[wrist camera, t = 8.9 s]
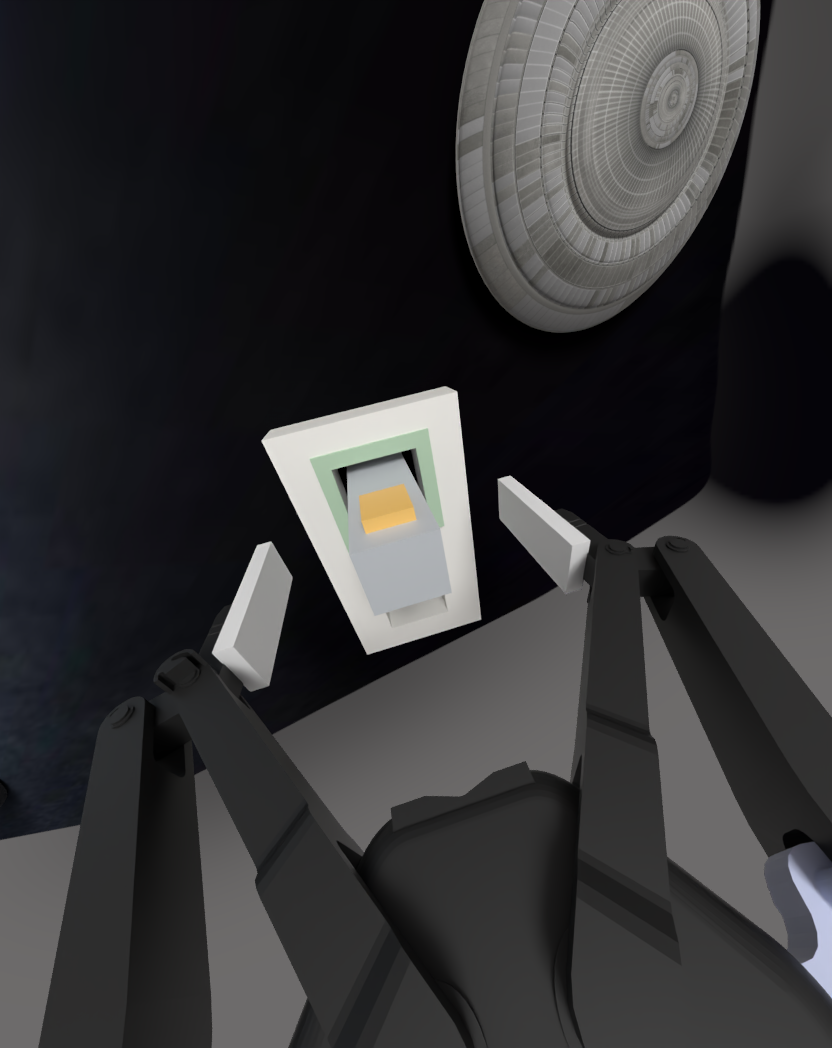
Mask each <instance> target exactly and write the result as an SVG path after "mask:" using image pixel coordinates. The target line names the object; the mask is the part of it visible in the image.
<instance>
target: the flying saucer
mask: <svg viewBox="0 0 832 1048" xmlns="http://www.w3.org/2000/svg"><path fill="white" fill-rule="evenodd" d="M759 25H760V0H484V2H483V5H482V8H481V11H480V14H479V17H478V20H477V23H476V26H475V30H474V33H473V36H472V40H471V44H470V48H469V52H468V56H467V60H466V65H465V70H464V74H463V80H462V86H461V92H460V99H459V107H458V116H457V128H456V179H457V191H458V199H459V207H460V213H461V218H462V223H463V227H464V232H465V236H466V239H467V243H468V246H469V249H470V252H471V255H472V257H473V260H474V262H475V265H476V267H477V269H478V271H479V273H480V275H481V277H482V279H483V281H484V283H485V284H486V286H487V287H488V289H489V291H490V292H491V293H492V295H493V296H494V297H495V299H496V300H497V301H498V302H499V303H500V305H501V306H502V307H503V308H504V309H505V310H506V311H508V312H509V313H510V314H511V315H512V316H514V317H515V318H516V319H518V320H519V321H521V322H523V323H525V324H527V325H529V326H531V327H533V328H536V329H539V330H543V331H548V332H556V333H565V332H574V331H579V330H583V329H587V328H590V327H593V326H595V325H597V324H600V323H602V322H604V321H606V320H608V319H610V318H611V317H613V316H615V315H616V314H618V313H619V312H621V311H622V310H623V309H625V308H626V307H628V306H629V305H630V304H631V303H632V302H634V301H635V300H636V299H637V298H638V297H639V296H640V295H642V294H643V293H644V292H645V291H646V290H647V289H648V288H649V287H650V286H651V285H652V284H653V283H654V282H655V281H656V280H657V279H658V278H659V276H660V275H661V274H662V273H663V272H664V271H665V270H666V268H667V267H668V266H669V265H670V263H671V262H672V261H673V260H674V258H675V257H676V256H677V254H678V253H679V252H680V250H681V249H682V247H683V246H684V245H685V243H686V242H687V240H688V239H689V237H690V236H691V234H692V233H693V231H694V229H695V228H696V226H697V225H698V223H699V221H700V220H701V218H702V216H703V214H704V213H705V211H706V209H707V207H708V205H709V203H710V201H711V199H712V198H713V196H714V194H715V191H716V189H717V187H718V185H719V183H720V181H721V178H722V176H723V174H724V172H725V169H726V167H727V164H728V162H729V159H730V157H731V154H732V151H733V149H734V146H735V143H736V140H737V137H738V134H739V131H740V128H741V125H742V122H743V118H744V115H745V111H746V107H747V103H748V99H749V95H750V90H751V86H752V81H753V76H754V70H755V64H756V57H757V49H758V39H759Z"/></svg>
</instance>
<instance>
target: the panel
mask: <svg viewBox="0 0 832 1048" xmlns="http://www.w3.org/2000/svg"><path fill="white" fill-rule="evenodd" d="M262 443H263V445H264V447H265V449H266V451H267V453H268V455H269V457H270V459H271V461H272V463H273V465H274V467H275V469H276V471H277V473H278V475H279V477H280V479H281V481H282V483H283V485H284V487H285V489H286V491H287V493H288V495H289V497H290V499H291V501H292V503H293V505H294V507H295V510H296V512H297V514H298V516H299V518H300V520H301V522H302V524H303V526H304V528H305V530H306V532H307V534H308V536H309V538H310V540H311V542H312V544H313V546H314V548H315V550H316V552H317V554H318V556H319V558H320V560H321V562H322V564H323V566H324V568H325V570H326V572H327V574H328V576H329V578H330V580H331V582H332V584H333V586H334V588H335V590H336V592H337V594H338V596H339V598H340V600H341V602H342V604H343V606H344V608H345V611H346V613H347V615H348V617H349V619H350V621H351V623H352V625H353V627H354V629H355V631H356V633H357V635H358V637H359V639H360V641H361V643H362V645H363V647H364V649H365V651H366V653H367V655H368V654H371V653H374V652H378V651H381V650H384V649H387V648H390V647H394V646H397V645H400V644H403V643H407V642H410V641H413V640H416V639H420V638H423V637H426V636H429V635H433V634H436V633H439V632H442V631H446V630H449V629H452V628H455V627H458V626H462V625H465V624H468V623H471V622H475V621H478V620H481V613H480V603H479V594H478V584H477V575H476V565H475V556H474V546H473V537H472V528H471V518H470V509H469V499H468V490H467V480H466V471H465V461H464V452H463V443H462V433H461V424H460V414H459V405H458V395H457V391H455V390H453V389H450V388H448V387H446V386H445V387H441V388H437V389H433V390H429V391H425V392H421V393H417V394H413V395H408V396H404V397H400V398H396V399H392V400H388V401H384V402H380V403H376V404H372V405H368V406H364V407H360V408H356V409H352V410H348V411H344V412H340V413H336V414H332V415H328V416H324V417H320V418H316V419H312V420H308V421H304V422H300V423H296V424H292V425H288V426H284V427H280V428H276V429H272V430H270V431H269V432H268V433H267V435H266V436H265V437H264V438H263V440H262ZM410 449H411V452H412V457H413V462H414V467H415V471H416V476H417V481H418V486H419V489H420V490H421V492H422V494H423V496H424V498H425V500H426V502H427V504H428V506H429V508H430V510H431V512H432V514H433V516H434V518H435V520H436V522H437V523H438V525H439V527H440V530H441V536H442V541H443V547H444V552H445V558H446V563H447V569H448V575H449V580H450V586H451V591H452V593H449V594H446V595H443V596H440V597H436V598H433V599H430V600H426V601H423V602H420V603H416V604H413V605H410V606H406V607H403V608H400V609H396V610H393V611H390V612H386V613H383V614H380V615H376V616H374V613H373V611H372V609H371V606H370V604H369V601H368V599H367V597H366V594H365V592H364V589H363V587H362V585H361V582H360V580H359V577H358V575H357V573H356V570H355V568H354V565H353V563H352V561H351V558H350V556H349V532H348V497H347V494H346V491H345V489H344V486H343V483H342V481H341V478H340V475H339V472H338V470H337V469H338V468H341V467H345V466H349V465H353V464H357V463H360V462H364V461H368V460H372V459H376V458H379V457H383V456H387V455H391V454H395V453H398V452H402V451H406V450H410Z"/></svg>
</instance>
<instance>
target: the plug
mask: <svg viewBox="0 0 832 1048" xmlns="http://www.w3.org/2000/svg"><path fill="white" fill-rule="evenodd" d="M347 492H348V532H349V556H350V558H351V561H352V563H353V565H354V568H355V570H356V573H357V575H358V577H359V580H360V582H361V585H362V587H363V589H364V592H365V594H366V597H367V599H368V601H369V604H370V606H371V609H372V611H373V613H374V616H376V615H380V614H383V613H386V612H390V611H393V610H396V609H400V608H403V607H406V606H410V605H413V604H416V603H420V602H423V601H426V600H430V599H433V598H436V597H440V596H443V595H446V594H449V593H452V591H451V586H450V580H449V575H448V569H447V563H446V558H445V552H444V547H443V541H442V536H441V530H440V527H439V525H438V523H437V522H436V520H435V518H434V516H433V514H432V512H431V510H430V508H429V506H428V504H427V502H426V500H425V498H424V496H423V494H422V492H421V490H420V489H419V487H418V485H417V483H416V481H415V479H414V477H413V475H412V473H411V471H410V469H409V467H408V465H407V463H406V461H405V459H404V458H403V456H402V454H401V452H398V453H395V454H391V455H387V456H383V457H379V458H376V459H372V460H368V461H364V462H360V463H357V464H353V465H349V466H347Z"/></svg>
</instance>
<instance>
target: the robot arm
mask: <svg viewBox="0 0 832 1048" xmlns="http://www.w3.org/2000/svg"><path fill="white" fill-rule="evenodd" d="M498 494H499V519H500V520H501V521H502V522H503V523H504V524H505V525H506V527H507V528H508V529H509V530H510V531H511V532H512V533H513V534H514V536H515V537H516V538H517V539H518V540H519V541H520V542H521V544H522V545H523V546H524V547H525V548H526V549H527V550H528V552H529V553H530V554H531V555H532V556H533V557H534V558H535V560H536V561H537V562H538V563H539V564H540V565H541V566H542V568H543V569H544V570H545V571H546V572H547V573H548V574H549V576H550V577H551V578H552V579H553V580H554V581H555V582H556V584H557V585H558V586H559V587H560V588H561V589H562V590H563V591H564V593H565V594H568V593H571V592H574V591H577V590H581V589H582V586H583V580H585V581H586V582H587V583H588V584H589V585H590V589H589V594H588V599H587V603H588V608H587V609H588V610H587V620H586V630H585V641H584V652H583V663H582V675H581V685H580V697H579V707H578V718H577V729H576V740H575V750H574V756H573V763H572V770H571V780H570V782H568V781H566V780H565V779H562V778H560V777H558V776H556V775H554V774H550V773H547V772H543V771H538V770H529V768H528V765H527V763H526V761H525V762H522V763H519V764H516V765H514V766H511V767H507V768H505V769H502V770H499V771H496V772H493V773H492V774H491V775H490V776H488V777H487V778H486V779H485V780H483V781H482V782H481V783H479V784H478V785H477V786H476V787H474V788H473V789H472V790H470V791H469V792H468V793H467V794H466V795H463V796H460V797H449V796H445V797H444V796H424V797H421V798H418V799H415V800H412V801H410V802H407V803H404V804H401V805H398V806H395V807H392V808H391V815H392V819H391V820H389V821H388V822H387V823H386V824H385V825H384V826H383V827H382V828H381V829H380V830H379V831H378V833H377V834H376V835H375V836H374V838H373V839H372V841H371V842H370V844H369V845H368V847H367V849H366V850H365V852H363V851H362V850H361V848H360V847H359V846H358V845H357V844H356V842H355V841H354V840H353V839H352V838H351V837H350V836H349V835H348V834H347V833H346V832H345V831H344V829H343V828H342V827H341V825H340V824H339V823H338V822H337V820H336V819H335V818H334V816H333V815H332V814H331V812H330V811H329V810H328V808H327V807H326V806H325V804H324V803H323V802H322V800H321V799H320V798H319V796H318V795H317V794H316V792H315V791H314V790H313V788H312V787H311V786H310V785H309V783H308V782H307V780H306V779H305V778H304V777H303V775H302V774H301V773H300V771H299V770H298V769H297V767H296V766H295V765H294V763H293V762H292V761H291V759H290V758H289V757H288V755H287V754H286V753H285V751H284V750H283V749H282V748H281V746H280V745H279V743H278V742H277V741H276V740H275V738H274V737H273V736H272V734H271V733H270V732H269V730H268V729H267V728H266V726H265V725H264V724H263V722H262V721H261V720H260V718H259V717H258V716H257V714H256V713H255V712H254V710H253V709H252V708H251V706H250V705H249V704H248V703H247V701H246V700H245V699H244V697H243V696H241V695H240V693H241V689H242V686H243V685H244V686H245V687H246V688H247V689H248V690H249V691H250V692H251V691H254V690H257V689H260V688H264V687H267V686H269V684H270V679H271V675H272V670H273V665H274V661H275V656H276V651H277V647H278V642H279V638H280V633H281V628H282V624H283V619H284V615H285V610H286V605H287V601H288V596H289V592H290V587H291V582H292V578H293V577H292V576H291V574H290V572H289V571H288V569H287V567H286V566H285V564H284V562H283V560H282V559H281V557H280V555H279V554H278V552H277V550H276V549H275V547H274V545H273V544H272V542H268V543H264V544H261V545H257V547H256V550H255V552H254V554H253V557H252V559H251V561H250V564H249V566H248V568H247V571H246V573H245V576H244V578H243V580H242V583H241V585H240V587H239V590H238V592H237V594H236V597H235V599H234V601H233V604H231V605H228V606H225V607H224V608H223V609H222V610H221V611H220V613H219V614H218V615H217V616H216V618H215V620H214V622H213V624H212V628H211V629H210V631H209V633H208V636H207V637H206V640H205V642H204V644H203V646H202V648H201V650H200V653H199V655H198V654H197V653H196V652H195V651H194V650H192V649H185V650H183V651H180V652H177V653H176V654H174V655H173V656H171V657H170V658H168V659H167V660H166V661H165V662H164V663H163V664H162V665H161V666H160V667H159V669H158V670H157V671H156V674H155V676H154V683H155V684H156V685H158V686H159V687H160V688H162V689H163V690H164V691H166V692H165V693H163V694H161V695H159V696H157V697H156V698H154V699H152V700H150V701H147V700H146V699H144V698H142V697H133V698H131V699H129V700H127V701H125V702H123V703H122V704H120V705H119V706H118V707H116V708H115V709H114V710H113V711H112V712H111V713H110V714H109V715H108V716H107V717H106V719H105V720H104V721H103V723H102V724H101V726H100V729H99V731H98V736H97V741H96V746H95V751H94V757H93V762H92V767H91V773H90V778H89V783H88V788H87V794H86V799H85V804H84V810H83V815H82V820H81V825H80V831H79V836H78V842H77V847H76V852H75V858H74V862H73V868H72V873H71V879H70V884H69V889H68V894H67V900H66V905H65V910H64V915H63V921H62V926H61V931H60V937H59V942H58V948H57V952H56V958H55V963H54V968H53V973H52V979H51V985H50V990H49V995H48V1000H47V1005H46V1011H45V1016H44V1021H43V1026H42V1032H41V1037H40V1043H39V1048H211V1045H212V1013H211V990H210V976H209V963H208V950H207V937H206V924H205V911H204V897H203V885H202V871H201V858H200V845H199V832H198V819H197V806H196V793H195V780H194V766H193V753H192V740H193V742H194V744H195V746H196V748H197V750H198V752H199V754H200V756H201V758H202V760H203V762H204V764H205V766H206V768H207V770H208V771H209V774H210V776H211V778H212V780H213V782H214V784H215V786H216V788H217V789H218V792H219V794H220V796H221V798H222V800H223V801H224V804H225V806H226V808H227V810H228V812H229V814H230V816H231V818H232V820H233V822H234V824H235V825H236V828H237V830H238V832H239V834H240V836H241V837H242V840H243V842H244V843H245V846H246V848H247V850H248V852H249V854H250V856H251V858H252V860H253V862H254V864H255V866H256V868H257V873H258V874H257V876H256V879H255V883H256V889H257V891H258V894H259V896H260V899H261V901H262V903H263V905H264V907H265V909H266V911H267V913H268V915H269V918H270V920H271V922H272V924H273V926H274V928H275V930H276V932H277V934H278V936H279V939H280V941H281V943H282V945H283V947H284V949H285V951H286V953H287V955H288V958H289V960H290V961H291V964H292V966H293V968H294V970H295V972H296V974H297V976H298V978H299V981H300V983H301V985H302V987H303V989H304V991H305V993H306V995H307V997H308V998H307V1000H306V1003H305V1006H304V1008H303V1011H302V1013H301V1016H300V1019H299V1021H298V1024H297V1026H296V1029H295V1032H294V1034H293V1037H292V1039H291V1043H290V1045H289V1047H288V1048H832V717H831V716H830V715H829V713H828V712H827V711H826V710H825V708H824V707H823V706H822V704H821V703H820V702H819V701H818V699H817V698H816V697H815V695H814V694H813V693H812V692H811V690H810V689H809V688H808V686H807V685H806V684H805V683H804V681H803V680H802V679H801V677H800V676H799V675H798V673H797V672H796V671H795V670H794V668H793V667H792V666H791V664H790V663H789V662H788V661H787V659H786V658H785V657H784V656H783V654H782V653H781V652H780V650H779V649H778V648H777V646H776V645H775V644H774V643H773V641H772V640H771V639H770V637H769V636H768V635H767V634H766V632H765V631H764V630H763V628H762V627H761V626H760V625H759V623H758V622H757V621H756V619H755V618H754V617H753V615H752V614H751V613H750V612H749V610H748V609H747V608H746V607H745V605H744V604H743V603H742V601H741V600H740V599H739V598H738V596H737V595H736V594H735V592H734V591H733V590H732V588H731V587H730V586H729V585H728V583H727V582H726V581H725V579H724V578H723V577H722V576H721V574H720V573H719V572H718V570H717V569H716V568H715V567H714V565H713V564H712V563H711V561H710V560H709V559H708V557H707V556H706V555H705V554H704V552H703V551H702V550H701V548H700V547H699V546H698V545H697V544H696V543H694V542H692V541H690V540H688V539H686V538H682V537H678V536H664V537H661V538H659V539H658V540H657V542H656V544H655V547H642V548H634V547H633V546H632V545H631V544H629V543H626V542H624V541H620V540H608V539H607V538H605V537H604V536H603V535H601V534H600V533H599V532H597V531H596V530H595V529H593V528H592V527H591V526H589V525H588V524H586V523H585V522H584V521H583V520H580V518H579V517H577V516H576V515H575V514H573V513H572V512H569V511H567V510H564V509H559V510H556V511H554V510H552V509H551V508H550V507H549V506H547V505H546V504H545V503H544V502H542V501H541V500H540V499H539V498H537V497H536V496H535V495H534V494H532V493H531V492H530V491H529V490H528V489H526V488H525V487H524V486H523V485H521V484H520V483H519V482H518V481H516V480H515V479H514V478H513V477H511V476H507V477H504V478H500V479H498ZM640 597H644V599H645V601H646V603H647V605H648V607H649V610H650V612H651V614H652V616H653V618H654V620H655V623H656V625H657V627H658V629H659V631H660V634H661V636H662V638H663V640H664V642H665V645H666V647H667V649H668V651H669V653H670V656H671V658H672V660H673V662H674V664H675V667H676V669H677V671H678V673H679V675H680V678H681V680H682V682H683V684H684V686H685V689H686V691H687V693H688V695H689V697H690V700H691V702H692V704H693V706H694V708H695V710H696V713H697V715H698V717H699V719H700V722H701V724H702V726H703V728H704V730H705V732H706V735H707V737H708V739H709V741H710V743H711V746H712V748H713V750H714V752H715V754H716V757H717V759H718V761H719V763H720V765H721V768H722V770H723V772H724V774H725V776H726V779H727V781H728V783H729V785H730V787H731V790H732V792H733V794H734V796H735V798H736V800H737V802H738V804H739V806H740V808H741V810H742V812H743V814H744V816H745V818H746V820H747V822H748V824H749V826H750V827H751V829H752V831H753V832H754V834H755V836H756V837H757V839H758V841H759V842H760V844H761V845H762V847H763V849H764V850H765V852H766V854H767V855H768V857H769V858H768V859H767V861H766V863H765V868H764V875H765V879H766V883H767V887H768V889H769V891H770V894H771V897H772V900H773V903H774V905H775V906H776V908H777V909H778V911H779V912H780V913H781V915H782V917H783V919H784V923H785V926H786V930H787V933H788V949H787V950H786V949H785V948H784V947H782V945H780V944H779V943H778V942H777V941H775V939H773V938H772V937H771V936H770V935H768V934H767V933H766V932H764V931H763V930H762V929H761V928H759V927H758V926H757V925H755V924H754V923H753V922H751V921H750V920H749V919H747V918H746V917H745V916H743V915H742V914H741V913H740V912H738V911H737V910H736V909H735V908H733V907H732V906H730V905H729V904H728V903H727V902H725V901H724V900H723V899H722V898H720V897H719V896H717V895H716V894H715V893H714V892H712V891H711V890H710V889H709V888H707V887H706V886H705V885H703V884H702V883H701V882H699V881H698V880H697V879H695V878H694V877H693V876H691V875H690V874H689V873H688V872H686V871H685V870H684V869H683V868H681V867H680V866H679V865H677V864H676V863H675V862H673V861H672V860H671V859H669V858H668V857H667V853H666V842H665V831H664V830H665V829H664V817H663V806H662V794H661V782H660V771H659V759H658V750H657V745H656V741H655V739H654V738H653V737H652V736H651V734H650V731H649V719H648V705H647V690H646V676H645V662H644V647H643V633H642V618H641V604H640ZM6 798H7V790H6V789H5V787H4V786H3V785H2V784H1V783H0V807H1V806H2V805H3V803H4V802H5V800H6Z"/></svg>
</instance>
